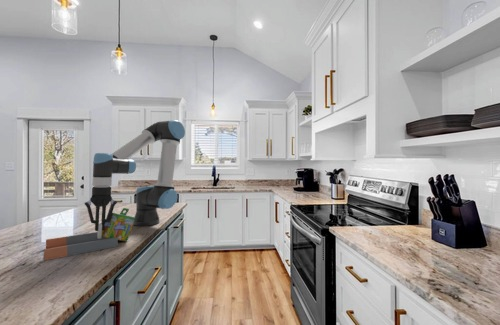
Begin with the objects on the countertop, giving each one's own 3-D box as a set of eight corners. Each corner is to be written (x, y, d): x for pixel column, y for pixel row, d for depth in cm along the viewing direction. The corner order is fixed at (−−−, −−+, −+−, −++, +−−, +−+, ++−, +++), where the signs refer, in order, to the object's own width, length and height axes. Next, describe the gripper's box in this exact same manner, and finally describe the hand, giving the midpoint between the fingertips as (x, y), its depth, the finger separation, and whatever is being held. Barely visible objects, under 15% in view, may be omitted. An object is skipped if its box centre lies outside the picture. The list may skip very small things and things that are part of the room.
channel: (111, 237, 119) (111, 229, 119) (117, 246, 106) (117, 237, 106) (45, 248, 103) (46, 239, 103) (44, 260, 91) (44, 249, 91)
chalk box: (99, 236, 111) (110, 205, 115) (117, 238, 118) (127, 208, 122) (109, 239, 106) (121, 207, 110) (128, 241, 113) (138, 210, 117)
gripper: (116, 185, 116) (113, 233, 115) (84, 186, 108) (81, 237, 107) (119, 186, 110) (116, 237, 109) (85, 187, 102) (82, 242, 101)
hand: (99, 237), depth 108 cm, fingers closed
